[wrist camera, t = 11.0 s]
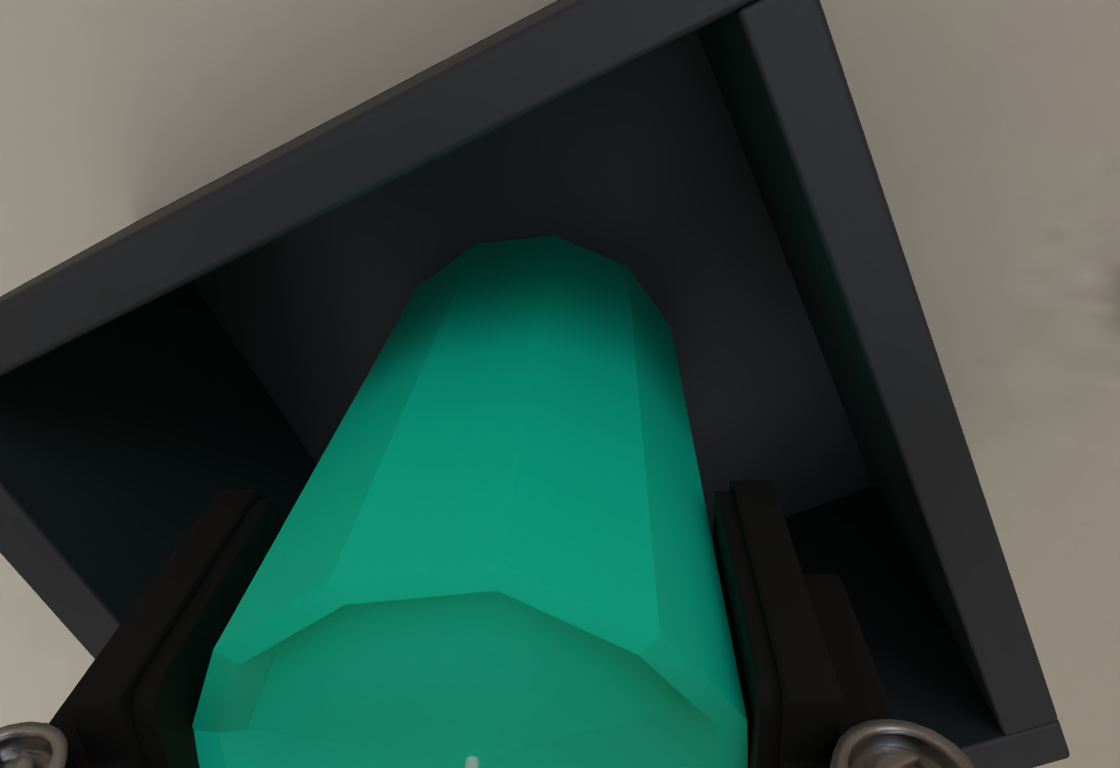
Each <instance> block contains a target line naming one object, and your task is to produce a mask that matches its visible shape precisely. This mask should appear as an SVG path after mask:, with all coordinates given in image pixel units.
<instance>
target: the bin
mask: <svg viewBox="0 0 1120 768" xmlns="http://www.w3.org/2000/svg"><path fill="white" fill-rule="evenodd" d="M552 235H556V236H558V237H561V238H563V239H565V240H567V241H570V242H572V243H574V244H577V245H579V246H581V247H584V248H586V249H588V250H590V251H593V252H595V253H597V254H600V255H602V256H604V257H607V258H609V259H611V260H613V261H616V262H618V263H620V264H623V265H625V266H627V267H628V268H629V270H630V271H631V272H632V274H633V275H634V276H635V278H636V279H637V281H638V282H639V283H640V285H641V286H642V287H643V289H644V290H645V291H646V293H647V294H648V296H649V297H650V298H651V300H652V301H653V302H654V304H655V305H656V306H657V308H658V309H659V311H660V312H661V313H662V315H663V316H664V317H665V319H666V320H667V321H668V323H669V324H670V326H671V330H672V335H673V340H674V345H675V350H676V355H677V361H678V366H679V371H680V376H681V381H682V386H683V392H684V397H685V402H686V407H687V412H688V417H689V422H690V428H691V433H692V438H693V443H694V448H695V453H696V459H697V464H698V469H699V474H700V479H701V484H702V489H703V495H704V500H705V505H706V510H707V515H708V520H709V525H710V531H711V536H712V541H713V519H714V495H715V491H729V483H730V481H731V480H767V479H770V480H772V482H773V485H774V488H775V491H776V494H777V497H778V500H779V503H780V506H781V509H782V512H783V515H784V518H785V521H786V524H787V527H788V530H789V533H790V536H791V539H792V542H793V546H794V549H795V552H796V555H797V558H798V561H799V564H800V567H801V570H802V573H803V574H836V575H838V576H839V577H840V579H841V581H842V583H843V585H844V587H845V590H846V592H847V595H848V598H849V600H850V603H851V605H852V608H853V610H854V613H855V616H856V618H857V621H858V623H859V626H860V628H861V631H862V634H863V636H864V639H865V641H866V644H867V647H868V649H869V652H870V654H871V657H872V659H873V662H874V665H875V667H876V670H877V672H878V675H879V677H880V680H881V683H882V685H883V688H884V690H885V693H886V695H887V698H888V701H889V703H890V706H891V708H892V711H893V714H894V716H895V719H896V720H901V721H908V722H913V723H915V724H918V725H921V726H923V727H926V728H929V729H931V730H934V731H936V732H937V733H939V734H940V735H942V736H944V737H945V738H947V739H948V740H950V741H951V742H953V743H954V744H955V745H956V746H957V747H958V748H959V749H960V750H961V751H962V752H963V753H964V754H965V755H966V756H967V757H968V758H969V759H970V760H971V762H972V763H973V765H974V767H975V768H1033V767H1036V766H1040V765H1044V764H1047V763H1051V762H1055V761H1058V760H1062V759H1065V758H1068V757H1069V750H1068V747H1067V744H1066V741H1065V738H1064V735H1063V732H1062V729H1061V726H1060V723H1059V721H1058V719H1057V714H1056V711H1055V708H1054V705H1053V702H1052V699H1051V696H1050V693H1049V690H1048V687H1047V684H1046V681H1045V678H1044V675H1043V672H1042V669H1041V666H1040V663H1039V660H1038V657H1037V654H1036V651H1035V648H1034V645H1033V642H1032V639H1031V636H1030V633H1029V630H1028V627H1027V624H1026V621H1025V618H1024V615H1023V612H1022V609H1021V606H1020V603H1019V600H1018V597H1017V594H1016V591H1015V588H1014V585H1013V582H1012V579H1011V576H1010V573H1009V570H1008V567H1007V564H1006V561H1005V558H1004V555H1003V552H1002V549H1001V546H1000V543H999V540H998V536H997V533H996V530H995V527H994V524H993V521H992V518H991V515H990V512H989V509H988V506H987V503H986V500H985V497H984V494H983V491H982V488H981V485H980V482H979V479H978V476H977V473H976V470H975V467H974V464H973V461H972V458H971V455H970V452H969V449H968V446H967V443H966V440H965V437H964V434H963V431H962V428H961V425H960V422H959V419H958V416H957V413H956V410H955V407H954V404H953V401H952V398H951V395H950V392H949V389H948V386H947V383H946V380H945V377H944V374H943V371H942V368H941V365H940V362H939V359H938V355H937V352H936V349H935V346H934V343H933V340H932V337H931V334H930V331H929V328H928V325H927V322H926V319H925V316H924V313H923V310H922V307H921V304H920V301H919V298H918V295H917V292H916V289H915V286H914V283H913V280H912V277H911V274H910V271H909V268H908V265H907V262H906V259H905V256H904V253H903V250H902V247H901V244H900V241H899V238H898V235H897V232H896V229H895V226H894V223H893V220H892V217H891V214H890V211H889V208H888V205H887V202H886V199H885V196H884V193H883V190H882V187H881V184H880V181H879V178H878V174H877V171H876V168H875V165H874V162H873V159H872V156H871V153H870V150H869V147H868V144H867V141H866V138H865V135H864V132H863V129H862V126H861V123H860V120H859V117H858V114H857V111H856V108H855V105H854V102H853V99H852V96H851V93H850V90H849V87H848V84H847V81H846V78H845V75H844V72H843V69H842V66H841V63H840V60H839V57H838V54H837V51H836V48H835V45H834V42H833V39H832V36H831V33H830V30H829V27H828V24H827V21H826V18H825V15H824V12H823V9H822V6H821V3H820V0H558V1H556V2H554V3H552V4H550V5H548V6H546V7H544V8H543V9H541V10H539V11H537V12H535V13H533V14H531V15H529V16H527V17H525V18H523V19H522V20H520V21H518V22H516V23H514V24H512V25H510V26H508V27H506V28H504V29H502V30H501V31H499V32H497V33H495V34H493V35H491V36H489V37H487V38H485V39H483V40H482V41H480V42H478V43H476V44H474V45H472V46H470V47H468V48H466V49H464V50H462V51H461V52H459V53H457V54H455V55H453V56H451V57H449V58H447V59H445V60H443V61H441V62H440V63H438V64H436V65H434V66H432V67H430V68H428V69H426V70H424V71H422V72H421V73H419V74H417V75H415V76H413V77H411V78H409V79H407V80H405V81H403V82H401V83H400V84H398V85H396V86H394V87H392V88H390V89H388V90H386V91H384V92H382V93H380V94H379V95H377V96H375V97H373V98H371V99H369V100H367V101H365V102H363V103H361V104H360V105H358V106H356V107H354V108H352V109H350V110H348V111H346V112H344V113H342V114H340V115H339V116H337V117H335V118H333V119H331V120H329V121H327V122H325V123H323V124H321V125H320V126H318V127H316V128H314V129H312V130H310V131H308V132H306V133H304V134H302V135H300V136H299V137H297V138H295V139H293V140H291V141H289V142H287V143H285V144H283V145H281V146H279V147H278V148H276V149H274V150H272V151H270V152H268V153H266V154H264V155H262V156H260V157H259V158H257V159H255V160H253V161H251V162H249V163H247V164H245V165H243V166H241V167H239V168H238V169H236V170H234V171H232V172H230V173H228V174H226V175H224V176H222V177H220V178H218V179H217V180H215V181H213V182H211V183H209V184H207V185H205V186H203V187H201V188H199V189H198V190H196V191H194V192H192V193H190V194H188V195H186V196H184V197H182V198H180V199H178V200H177V201H175V202H173V203H171V204H169V205H167V206H165V207H163V208H161V209H159V210H157V211H156V212H154V213H152V214H150V215H148V216H146V217H144V218H142V219H140V220H138V221H137V222H135V223H133V224H131V225H129V226H127V227H125V228H124V229H122V230H120V231H118V232H116V233H115V234H113V235H111V236H109V237H107V238H106V239H104V240H102V241H100V242H98V243H97V244H95V245H93V246H91V247H89V248H88V249H86V250H84V251H82V252H80V253H79V254H77V255H75V256H73V257H71V258H69V259H68V260H66V261H64V262H62V263H60V264H59V265H57V266H55V267H53V268H51V269H50V270H48V271H46V272H44V273H42V274H41V275H39V276H37V277H35V278H33V279H32V280H30V281H28V282H26V283H24V284H23V285H21V286H19V287H17V288H15V289H13V290H12V291H10V292H8V293H6V294H4V295H3V296H1V297H0V553H1V554H2V555H3V556H4V557H5V558H6V559H7V561H8V562H9V563H10V564H11V565H12V566H13V567H14V568H15V570H16V571H17V572H18V573H19V574H20V575H21V576H22V577H23V579H24V580H25V581H26V582H27V583H28V584H29V585H30V586H31V588H32V589H33V590H34V591H35V592H36V593H37V594H38V595H39V597H40V598H41V599H42V600H43V601H44V602H45V603H46V604H47V606H48V607H49V608H50V609H51V610H52V611H53V612H54V613H55V615H56V616H57V617H58V618H59V619H60V620H61V621H62V622H63V624H64V625H65V626H66V627H67V628H68V629H69V630H70V631H71V633H72V634H73V635H74V636H75V637H76V638H77V639H78V640H79V642H80V643H81V644H82V645H83V646H84V647H85V648H86V649H87V651H88V652H89V653H90V654H91V655H92V656H93V657H94V658H95V659H96V658H97V656H98V655H99V654H100V652H101V651H102V649H103V648H104V647H105V645H106V644H107V643H108V641H109V640H110V638H111V637H112V636H113V634H114V633H115V631H116V630H117V629H118V627H119V626H120V625H121V623H122V622H123V620H124V619H125V618H126V616H127V615H128V614H129V612H130V611H131V609H132V608H133V607H134V605H135V604H136V602H137V601H138V600H139V598H140V597H141V596H142V594H143V593H144V592H145V591H146V590H147V588H148V587H149V586H150V584H151V583H152V582H153V580H154V579H155V577H156V576H157V575H158V573H159V572H160V570H161V569H162V568H163V566H164V565H165V564H166V562H167V561H168V559H169V558H170V557H171V555H172V554H173V552H174V551H175V550H176V548H177V547H178V546H179V544H180V543H181V541H182V540H183V539H184V537H185V536H186V534H187V533H188V532H189V530H190V529H191V528H192V526H193V525H194V523H195V522H196V521H197V519H198V518H199V516H200V515H201V514H202V512H203V511H204V510H205V508H206V507H207V505H208V504H209V503H210V501H211V500H212V498H213V497H214V496H215V494H216V493H217V492H219V491H220V490H240V489H261V490H262V491H264V493H265V494H266V496H267V499H275V500H277V502H278V503H279V506H280V509H281V514H282V518H283V523H285V521H286V519H287V518H288V516H289V514H290V512H291V510H292V509H293V507H294V505H295V503H296V502H297V500H298V498H299V496H300V494H301V493H302V491H303V489H304V487H305V486H306V484H307V482H308V480H309V478H310V477H311V475H312V473H313V471H314V470H315V468H316V466H317V464H318V462H319V461H320V459H321V457H322V455H323V453H324V452H325V450H326V448H327V446H328V445H329V443H330V441H331V439H332V437H333V436H334V434H335V432H336V430H337V429H338V427H339V425H340V423H341V421H342V420H343V418H344V416H345V414H346V413H347V411H348V409H349V407H350V405H351V404H352V402H353V400H354V398H355V397H356V395H357V393H358V391H359V389H360V388H361V386H362V384H363V382H364V381H365V379H366V377H367V375H368V373H369V372H370V370H371V368H372V366H373V365H374V363H375V361H376V359H377V357H378V356H379V354H380V352H381V350H382V349H383V347H384V345H385V343H386V341H387V340H388V338H389V336H390V334H391V332H392V331H393V329H394V327H395V325H396V324H397V322H398V320H399V318H400V316H401V315H402V313H403V311H404V309H405V308H406V306H407V304H408V302H409V300H410V299H411V297H412V295H413V293H414V292H415V290H416V288H417V287H418V286H419V285H420V284H422V283H423V282H424V281H426V280H427V279H428V278H430V277H431V276H433V275H434V274H435V273H437V272H438V271H439V270H441V269H442V268H444V267H445V266H446V265H448V264H449V263H450V262H452V261H453V260H454V259H456V258H457V257H459V256H460V255H461V254H463V253H464V252H465V251H467V250H468V249H469V248H471V247H472V246H474V245H475V244H476V243H482V242H492V241H502V240H512V239H522V238H532V237H542V236H552Z"/></svg>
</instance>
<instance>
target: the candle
mask: <svg viewBox="0 0 1120 768" xmlns="http://www.w3.org/2000/svg"><path fill="white" fill-rule="evenodd" d="M192 728H193V729H194V736H195V743H196V749H197V756H198V762H199V766H200V768H748V738H747V716H746V711H745V706H744V701H743V695H742V690H741V685H740V680H739V675H738V670H737V665H736V659H735V654H734V649H733V644H732V639H731V634H730V629H729V623H728V618H727V613H726V608H725V603H724V598H723V592H722V587H721V582H720V577H719V572H718V567H717V562H716V556H715V551H714V546H713V541H712V536H711V531H710V525H709V520H708V515H707V510H706V505H705V500H704V495H703V489H702V484H701V479H700V474H699V469H698V464H697V459H696V453H695V448H694V443H693V438H692V433H691V428H690V422H689V417H688V412H687V407H686V402H685V397H684V392H683V386H682V381H681V376H680V371H679V366H678V361H677V355H676V350H675V345H674V340H673V335H672V330H671V326H670V324H669V323H668V321H667V320H666V319H665V317H664V316H663V315H662V313H661V312H660V311H659V309H658V308H657V306H656V305H655V304H654V302H653V301H652V300H651V298H650V297H649V296H648V294H647V293H646V291H645V290H644V289H643V287H642V286H641V285H640V283H639V282H638V281H637V279H636V278H635V276H634V275H633V274H632V272H631V271H630V270H629V268H628V267H627V266H625V265H623V264H620V263H618V262H616V261H613V260H611V259H609V258H607V257H604V256H602V255H600V254H597V253H595V252H593V251H590V250H588V249H586V248H584V247H581V246H579V245H577V244H574V243H572V242H570V241H567V240H565V239H563V238H561V237H558V236H556V235H552V236H542V237H532V238H522V239H512V240H502V241H492V242H482V243H476V244H475V245H474V246H472V247H471V248H469V249H468V250H467V251H465V252H464V253H463V254H461V255H460V256H459V257H457V258H456V259H454V260H453V261H452V262H450V263H449V264H448V265H446V266H445V267H444V268H442V269H441V270H439V271H438V272H437V273H435V274H434V275H433V276H431V277H430V278H428V279H427V280H426V281H424V282H423V283H422V284H420V285H419V286H418V287H417V288H416V290H415V292H414V293H413V295H412V297H411V299H410V300H409V302H408V304H407V306H406V308H405V309H404V311H403V313H402V315H401V316H400V318H399V320H398V322H397V324H396V325H395V327H394V329H393V331H392V332H391V334H390V336H389V338H388V340H387V341H386V343H385V345H384V347H383V349H382V350H381V352H380V354H379V356H378V357H377V359H376V361H375V363H374V365H373V366H372V368H371V370H370V372H369V373H368V375H367V377H366V379H365V381H364V382H363V384H362V386H361V388H360V389H359V391H358V393H357V395H356V397H355V398H354V400H353V402H352V404H351V405H350V407H349V409H348V411H347V413H346V414H345V416H344V418H343V420H342V421H341V423H340V425H339V427H338V429H337V430H336V432H335V434H334V436H333V437H332V439H331V441H330V443H329V445H328V446H327V448H326V450H325V452H324V453H323V455H322V457H321V459H320V461H319V462H318V464H317V466H316V468H315V470H314V471H313V473H312V475H311V477H310V478H309V480H308V482H307V484H306V486H305V487H304V489H303V491H302V493H301V494H300V496H299V498H298V500H297V502H296V503H295V505H294V507H293V509H292V510H291V512H290V514H289V516H288V518H287V519H286V521H285V523H284V525H283V526H282V528H281V530H280V532H279V534H278V535H277V537H276V539H275V541H274V542H273V544H272V546H271V548H270V550H269V551H268V553H267V555H266V557H265V558H264V560H263V562H262V564H261V566H260V567H259V569H258V571H257V573H256V575H255V576H254V578H253V580H252V582H251V583H250V585H249V587H248V589H247V591H246V592H245V594H244V596H243V598H242V599H241V601H240V603H239V605H238V607H237V608H236V610H235V612H234V614H233V615H232V617H231V619H230V621H229V623H228V624H227V626H226V628H225V630H224V631H223V633H222V635H221V637H220V639H219V640H218V642H217V644H216V646H215V647H214V649H213V652H212V656H211V660H210V663H209V667H208V670H207V674H206V678H205V681H204V685H203V688H202V692H201V696H200V699H199V703H198V707H197V710H196V714H195V717H194V721H193V725H192Z"/></svg>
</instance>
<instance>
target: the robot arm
mask: <svg viewBox="0 0 1120 768" xmlns="http://www.w3.org/2000/svg"><path fill="white" fill-rule="evenodd" d="M283 525H284V523H283V518H282V514H281V509H280V506H279V503H278V502H277V500H275V499H267V496H266V494H265V493H264V491H262V490H261V489H240V490H220V491H219V492H217V493H216V494H215V496H214V497H213V498H212V500H211V501H210V503H209V504H208V505H207V507H206V508H205V510H204V511H203V512H202V514H201V515H200V516H199V518H198V519H197V521H196V522H195V523H194V525H193V526H192V528H191V529H190V530H189V532H188V533H187V534H186V536H185V537H184V539H183V540H182V541H181V543H180V544H179V546H178V547H177V548H176V550H175V551H174V552H173V554H172V555H171V557H170V558H169V559H168V561H167V562H166V564H165V565H164V566H163V568H162V569H161V570H160V572H159V573H158V575H157V576H156V577H155V579H154V580H153V582H152V583H151V584H150V586H149V587H148V588H147V590H146V591H145V592H144V593H143V594H142V596H141V597H140V598H139V600H138V601H137V602H136V604H135V605H134V607H133V608H132V609H131V611H130V612H129V614H128V615H127V616H126V618H125V619H124V620H123V622H122V623H121V625H120V626H119V627H118V629H117V630H116V631H115V633H114V634H113V636H112V637H111V638H110V640H109V641H108V643H107V644H106V645H105V647H104V648H103V649H102V651H101V652H100V654H99V655H98V656H97V658H96V659H95V660H94V662H93V663H92V665H91V666H90V667H89V669H88V670H87V672H86V673H85V674H84V676H83V677H82V678H81V680H80V681H79V683H78V684H77V685H76V687H75V688H74V690H73V691H72V692H71V694H70V695H69V696H68V698H67V699H66V701H65V702H64V703H63V705H62V706H61V707H60V709H59V710H58V712H57V713H56V714H55V716H54V717H53V719H52V720H51V721H50V723H49V724H48V723H40V722H24V723H17V724H11V725H7V726H4V727H1V728H0V768H200V766H199V762H198V756H197V749H196V743H195V736H194V729H193V728H192V725H193V721H194V717H195V714H196V710H197V707H198V703H199V699H200V696H201V692H202V688H203V685H204V681H205V678H206V674H207V670H208V667H209V663H210V660H211V656H212V652H213V649H214V647H215V646H216V644H217V642H218V640H219V639H220V637H221V635H222V633H223V631H224V630H225V628H226V626H227V624H228V623H229V621H230V619H231V617H232V615H233V614H234V612H235V610H236V608H237V607H238V605H239V603H240V601H241V599H242V598H243V596H244V594H245V592H246V591H247V589H248V587H249V585H250V583H251V582H252V580H253V578H254V576H255V575H256V573H257V571H258V569H259V567H260V566H261V564H262V562H263V560H264V558H265V557H266V555H267V553H268V551H269V550H270V548H271V546H272V544H273V542H274V541H275V539H276V537H277V535H278V534H279V532H280V530H281V528H282V526H283ZM713 546H714V551H715V556H716V562H717V567H718V572H719V577H720V582H721V587H722V592H723V598H724V603H725V608H726V613H727V618H728V623H729V629H730V634H731V639H732V644H733V649H734V654H735V659H736V665H737V670H738V675H739V680H740V685H741V690H742V695H743V701H744V706H745V711H746V716H747V738H748V768H975V767H974V765H973V763H972V762H971V760H970V759H969V758H968V757H967V756H966V755H965V754H964V753H963V752H962V751H961V750H960V749H959V748H958V747H957V746H956V745H955V744H954V743H953V742H951V741H950V740H948V739H947V738H945V737H944V736H942V735H940V734H939V733H937V732H936V731H934V730H931V729H929V728H926V727H923V726H921V725H918V724H915V723H913V722H908V721H901V720H896V719H895V716H894V714H893V711H892V708H891V706H890V703H889V701H888V698H887V695H886V693H885V690H884V688H883V685H882V683H881V680H880V677H879V675H878V672H877V670H876V667H875V665H874V662H873V659H872V657H871V654H870V652H869V649H868V647H867V644H866V641H865V639H864V636H863V634H862V631H861V628H860V626H859V623H858V621H857V618H856V616H855V613H854V610H853V608H852V605H851V603H850V600H849V598H848V595H847V592H846V590H845V587H844V585H843V583H842V581H841V579H840V577H839V576H838V575H836V574H803V573H802V570H801V567H800V564H799V561H798V558H797V555H796V552H795V549H794V546H793V542H792V539H791V536H790V533H789V530H788V527H787V524H786V521H785V518H784V515H783V512H782V509H781V506H780V503H779V500H778V497H777V494H776V491H775V488H774V485H773V482H772V480H770V479H767V480H731V481H730V483H729V491H715V495H714V519H713Z"/></svg>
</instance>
